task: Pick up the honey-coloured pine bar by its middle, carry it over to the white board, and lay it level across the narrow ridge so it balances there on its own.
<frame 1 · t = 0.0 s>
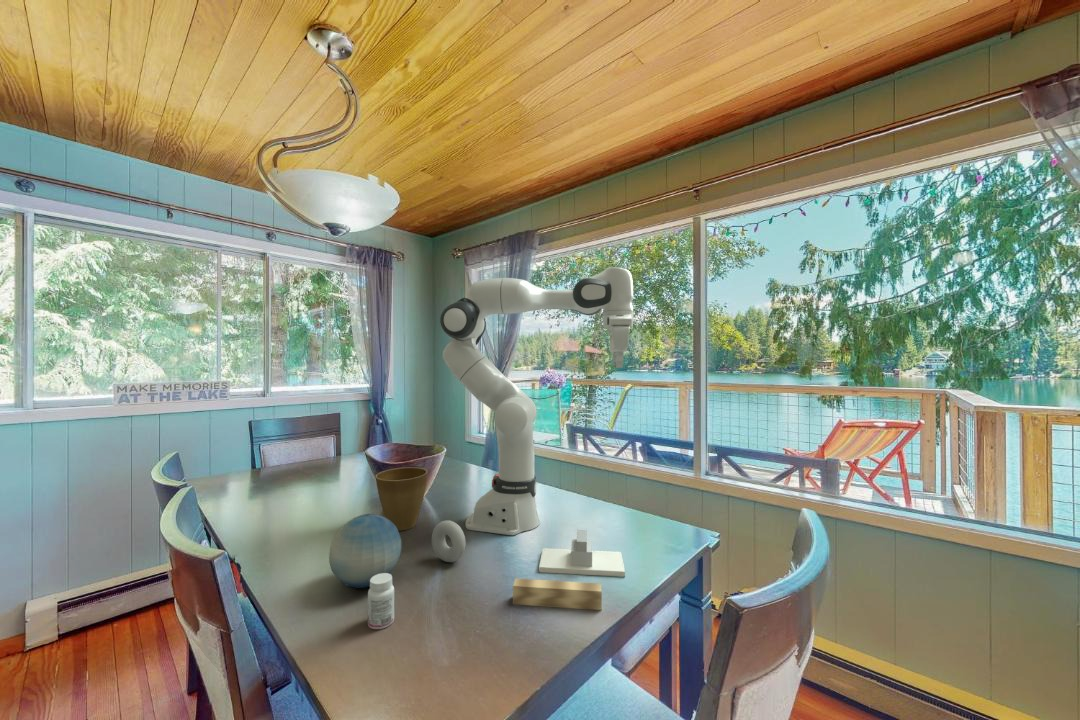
hand: (617, 367, 126), 48 cm above the table, tool pointing down, fingers open, 8 cm apart
fulcrum stand: (581, 564, 103), on the table
decorative ball: (366, 584, 94), on the table
donut: (448, 562, 104), on the table
plant pot: (401, 526, 126), on the table
pill bottle: (381, 623, 80), on the table
pine bar: (557, 604, 86), on the table
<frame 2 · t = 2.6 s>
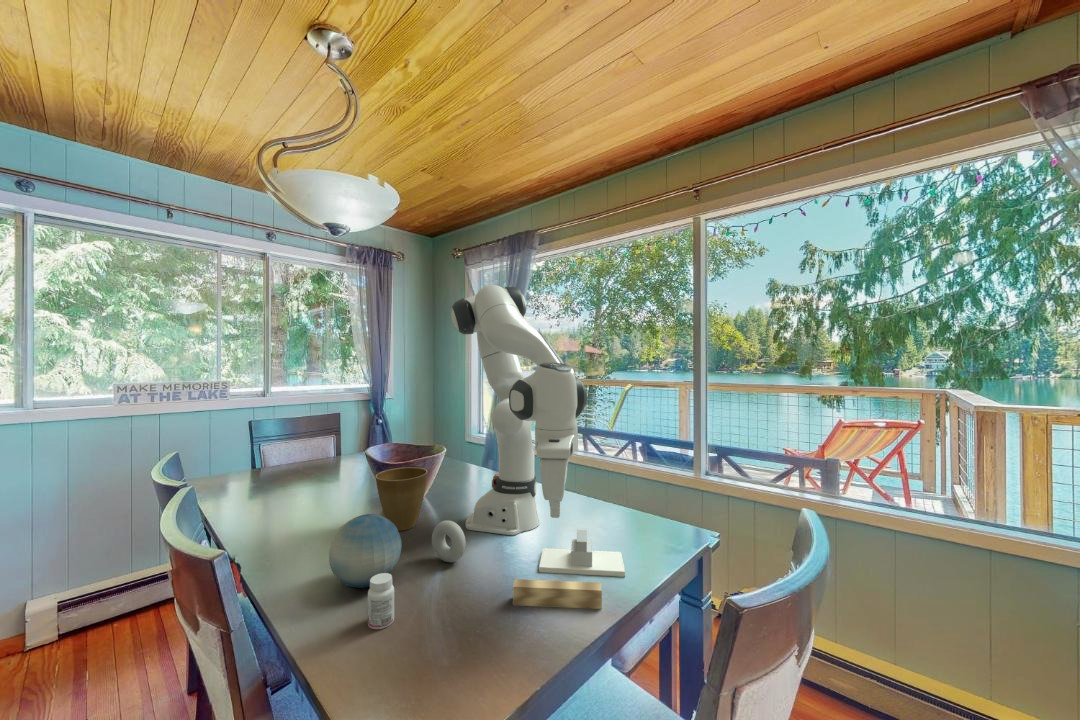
hand: (556, 508, 86), 19 cm above the table, tool pointing down, fingers open, 8 cm apart
nothing on the table moved.
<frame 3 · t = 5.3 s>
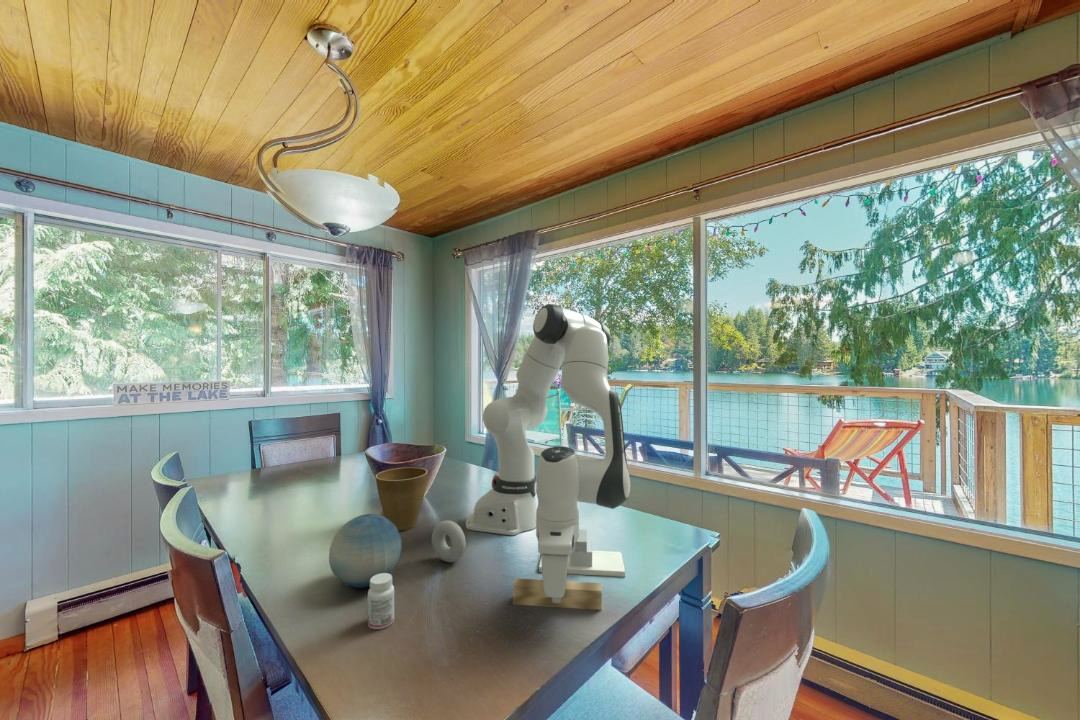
hand: (557, 594, 86), 2 cm above the table, tool pointing down, fingers closed on pine bar, 3 cm apart
pine bar: (557, 603, 86), on the table, touching gripper
everything else where it was.
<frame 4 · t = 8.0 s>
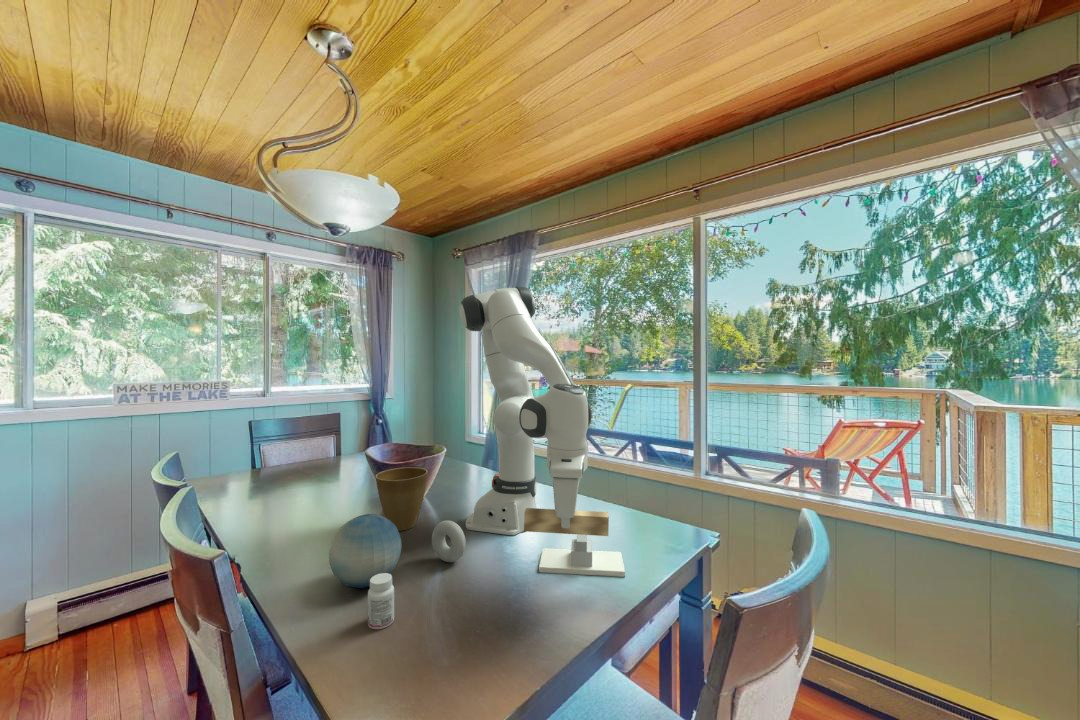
hand: (565, 522, 91), 15 cm above the table, tool pointing down, fingers closed on pine bar, 3 cm apart
pine bar: (566, 530, 91), point 13 cm above the table, touching gripper
everything else where it was.
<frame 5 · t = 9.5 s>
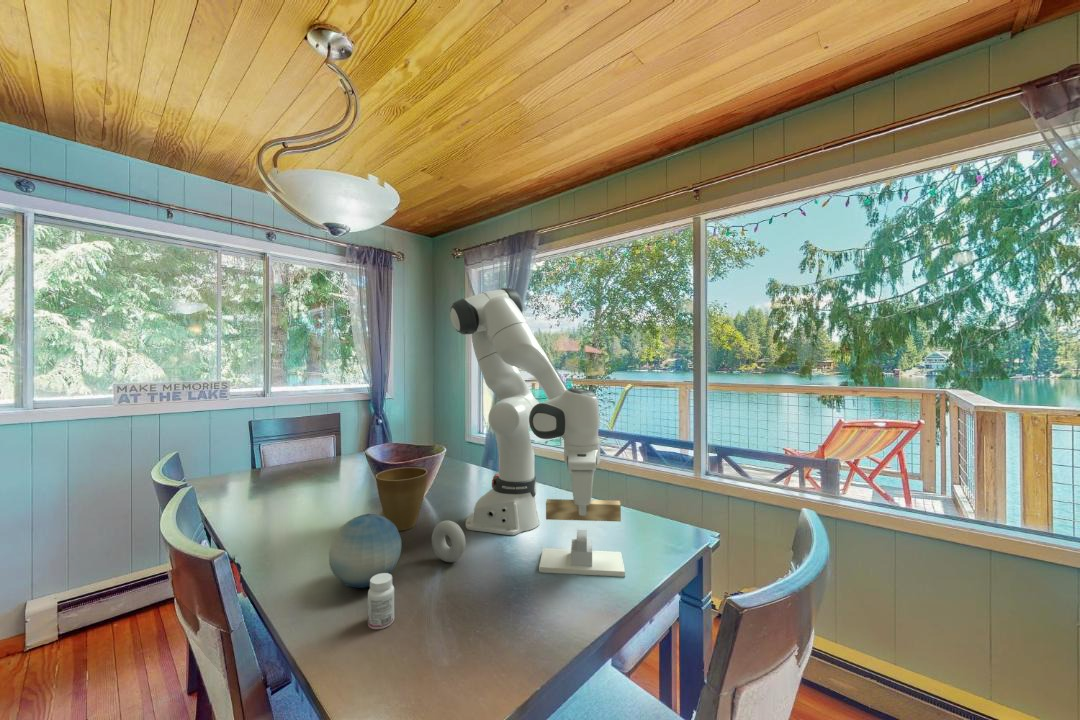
hand: (582, 511, 103), 13 cm above the table, tool pointing down, fingers closed on pine bar, 3 cm apart
pine bar: (583, 518, 103), point 11 cm above the table, touching gripper
everything else where it was.
when the fingers open (10 cm above the table, at t = 10.7 s): pine bar stays where it is, resting on fulcrum stand.
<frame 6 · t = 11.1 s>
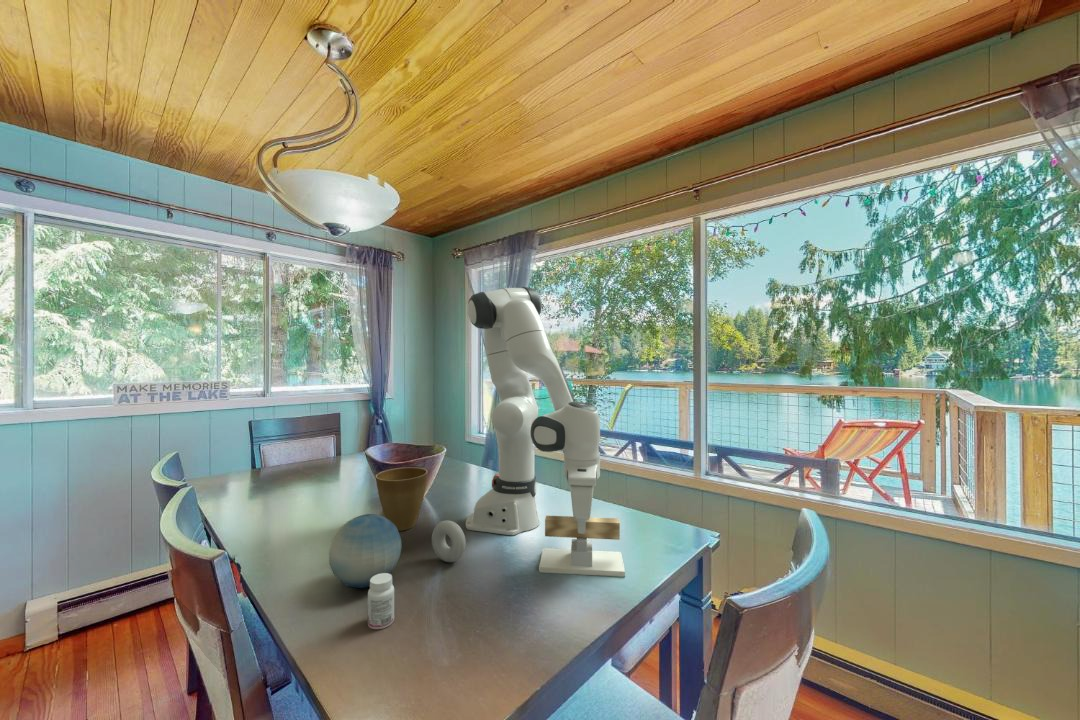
hand: (581, 525, 103), 10 cm above the table, tool pointing down, fingers open, 8 cm apart
pine bar: (581, 535, 103), point 7 cm above the table, touching fulcrum stand
everything else where it was.
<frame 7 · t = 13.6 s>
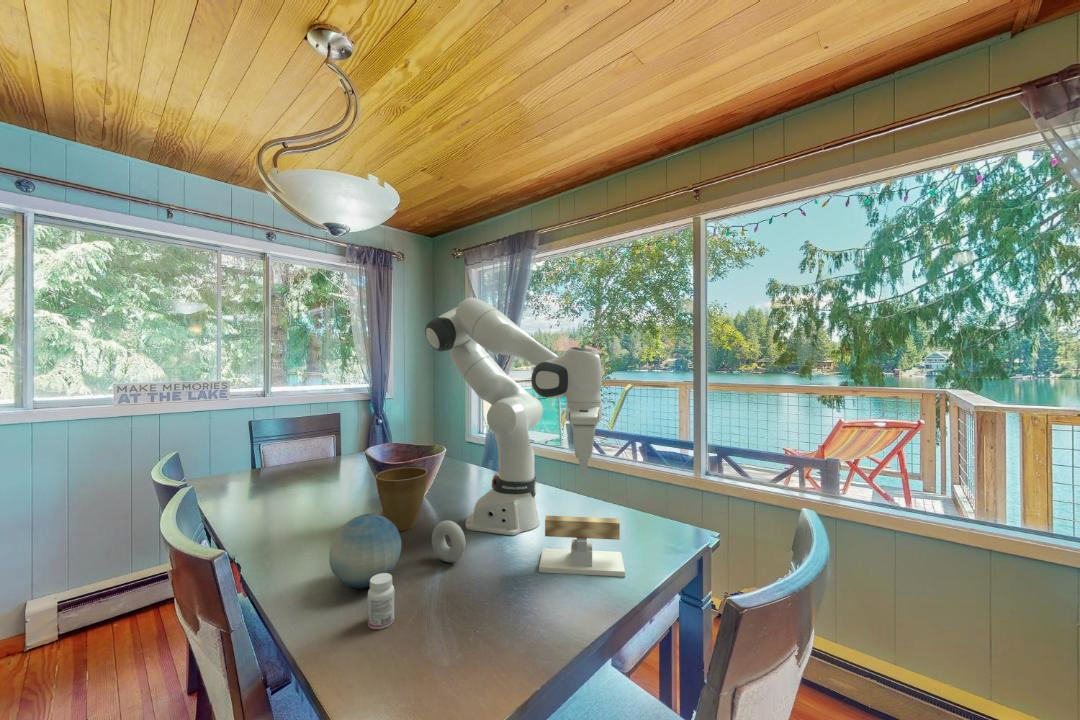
hand: (583, 468, 103), 23 cm above the table, tool pointing down, fingers open, 8 cm apart
nothing on the table moved.
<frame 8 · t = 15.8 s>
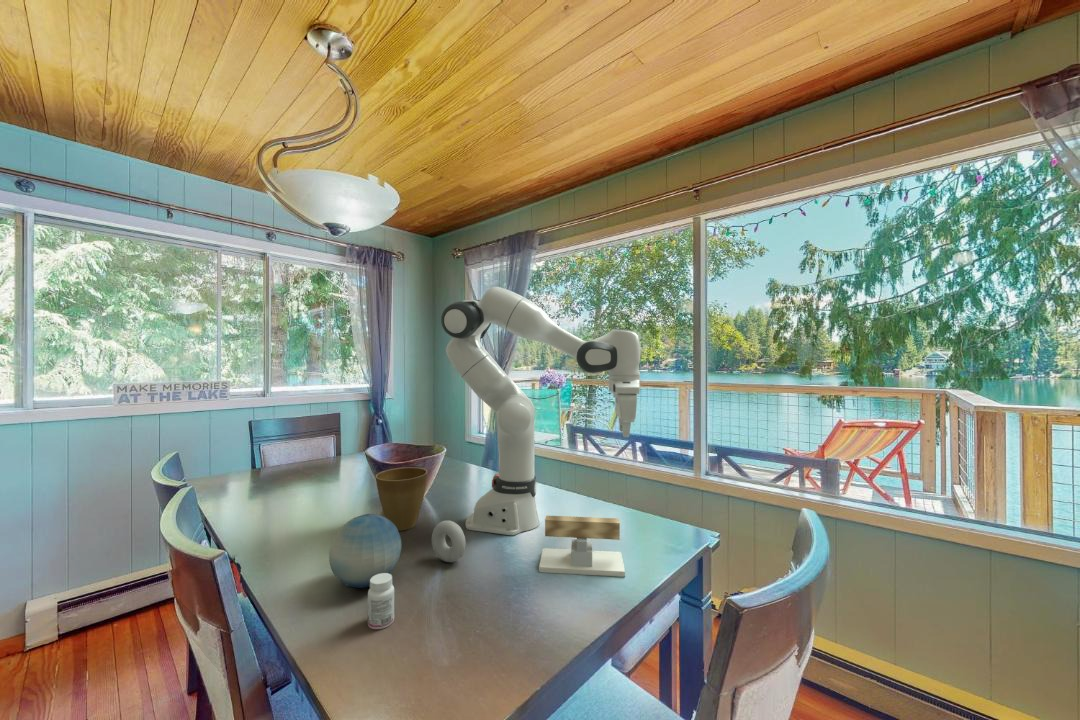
hand: (624, 434, 119), 29 cm above the table, tool pointing down, fingers open, 8 cm apart
nothing on the table moved.
at the end: pine bar 0.1 cm off-centre on the fulcrum stand, point 7.0 cm above the fulcrum stand's base; pine bar tilted 0°; pine bar touching fulcrum stand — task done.
